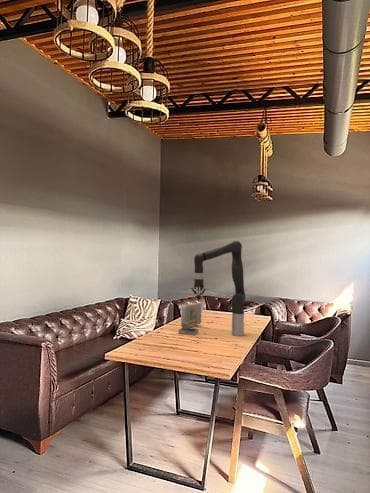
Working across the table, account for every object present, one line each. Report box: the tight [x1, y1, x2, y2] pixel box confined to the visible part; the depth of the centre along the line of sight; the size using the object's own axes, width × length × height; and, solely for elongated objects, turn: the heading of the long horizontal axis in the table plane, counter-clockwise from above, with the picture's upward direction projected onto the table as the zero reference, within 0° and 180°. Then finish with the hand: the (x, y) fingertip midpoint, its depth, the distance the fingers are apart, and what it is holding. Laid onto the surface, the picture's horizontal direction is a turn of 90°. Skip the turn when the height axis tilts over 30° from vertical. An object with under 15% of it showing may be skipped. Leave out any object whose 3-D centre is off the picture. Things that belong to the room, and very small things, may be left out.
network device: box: [180, 302, 202, 329], centre depth 334 cm, size 26×9×20 cm, turn 146°
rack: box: [178, 328, 199, 336], centre depth 312 cm, size 13×10×3 cm
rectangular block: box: [181, 322, 189, 330], centre depth 313 cm, size 3×6×7 cm, turn 158°
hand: (198, 299), depth 318 cm, fingers closed
